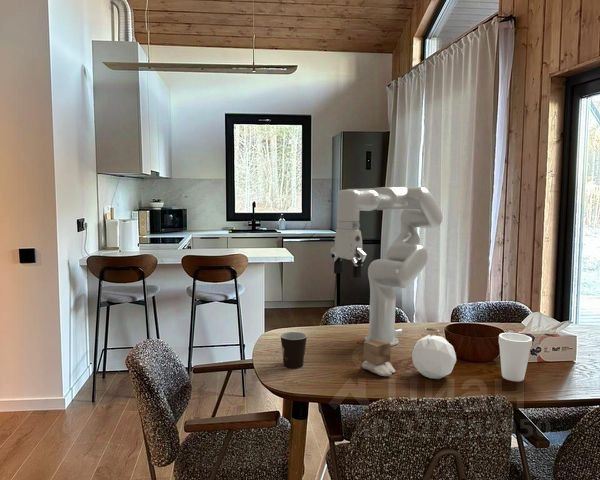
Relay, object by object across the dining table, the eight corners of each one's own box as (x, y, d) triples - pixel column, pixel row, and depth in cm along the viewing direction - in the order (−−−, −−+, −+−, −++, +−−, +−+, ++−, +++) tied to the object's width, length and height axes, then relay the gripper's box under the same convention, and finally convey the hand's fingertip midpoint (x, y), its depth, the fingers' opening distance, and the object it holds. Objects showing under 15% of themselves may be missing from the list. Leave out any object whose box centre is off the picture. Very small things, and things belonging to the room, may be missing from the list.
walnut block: (377, 356, 165) (377, 338, 164) (390, 361, 160) (390, 343, 159) (363, 359, 161) (363, 341, 161) (376, 365, 156) (376, 346, 156)
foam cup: (526, 385, 150) (529, 343, 148) (494, 379, 154) (496, 338, 153) (531, 375, 158) (533, 335, 156) (500, 369, 163) (502, 330, 161)
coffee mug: (303, 370, 160) (304, 340, 159) (277, 368, 161) (277, 338, 160) (310, 358, 171) (310, 330, 170) (285, 356, 173) (286, 328, 172)
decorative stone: (396, 381, 153) (392, 368, 168) (398, 369, 153) (393, 357, 168) (361, 375, 154) (360, 362, 169) (363, 363, 154) (362, 351, 169)
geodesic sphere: (450, 373, 143) (456, 329, 150) (403, 365, 149) (411, 323, 156) (455, 388, 154) (461, 346, 161) (411, 380, 161) (419, 340, 167)
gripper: (373, 227, 166) (372, 278, 168) (339, 223, 180) (338, 270, 182) (357, 228, 162) (356, 280, 163) (323, 224, 175) (322, 272, 177)
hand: (347, 275), depth 173 cm, fingers open, 9 cm apart
